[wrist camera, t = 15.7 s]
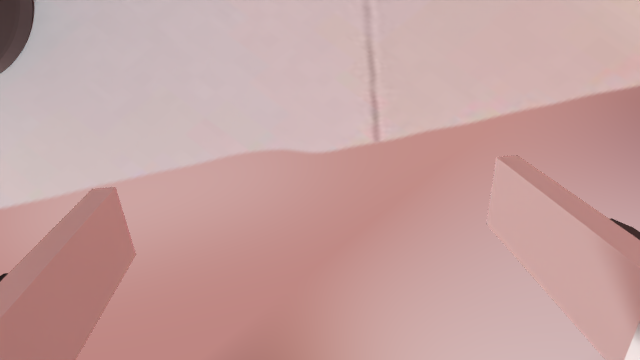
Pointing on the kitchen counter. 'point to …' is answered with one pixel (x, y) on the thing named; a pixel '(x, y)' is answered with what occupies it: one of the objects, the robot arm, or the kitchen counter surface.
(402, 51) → the kitchen counter surface
